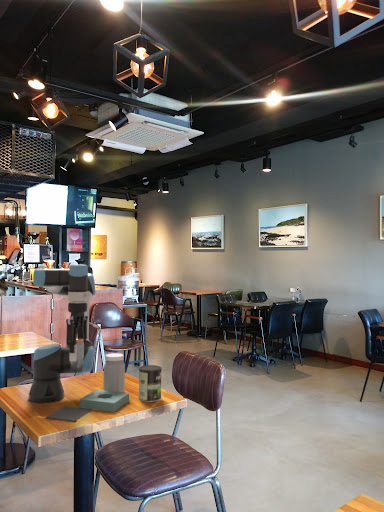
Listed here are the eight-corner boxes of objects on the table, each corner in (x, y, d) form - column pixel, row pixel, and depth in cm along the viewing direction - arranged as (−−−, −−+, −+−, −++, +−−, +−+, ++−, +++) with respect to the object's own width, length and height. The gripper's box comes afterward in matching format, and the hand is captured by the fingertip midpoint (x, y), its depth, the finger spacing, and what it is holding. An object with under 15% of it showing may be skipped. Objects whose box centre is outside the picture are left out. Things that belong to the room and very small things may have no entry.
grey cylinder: (67, 372, 163) (68, 339, 163) (74, 369, 168) (74, 337, 168) (79, 373, 162) (79, 340, 162) (85, 370, 166) (85, 338, 167)
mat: (45, 418, 158) (45, 416, 158) (65, 407, 170) (65, 405, 170) (75, 422, 154) (75, 420, 154) (92, 410, 167) (92, 409, 167)
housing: (79, 408, 169) (79, 399, 169) (96, 398, 183) (96, 389, 183) (114, 413, 165) (114, 403, 165) (128, 402, 178) (129, 393, 178)
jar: (99, 395, 187) (99, 356, 188) (110, 389, 196) (111, 352, 197) (117, 397, 184) (117, 358, 184) (128, 391, 193) (129, 353, 193)
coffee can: (163, 396, 187) (164, 365, 187) (157, 403, 177) (158, 371, 177) (142, 394, 189) (143, 364, 189) (135, 401, 179) (135, 369, 179)
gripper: (74, 304, 156) (73, 365, 155) (96, 300, 173) (95, 355, 173) (57, 303, 157) (55, 363, 157) (80, 300, 175) (79, 354, 174)
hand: (76, 359), depth 165 cm, fingers closed on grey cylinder, 5 cm apart
